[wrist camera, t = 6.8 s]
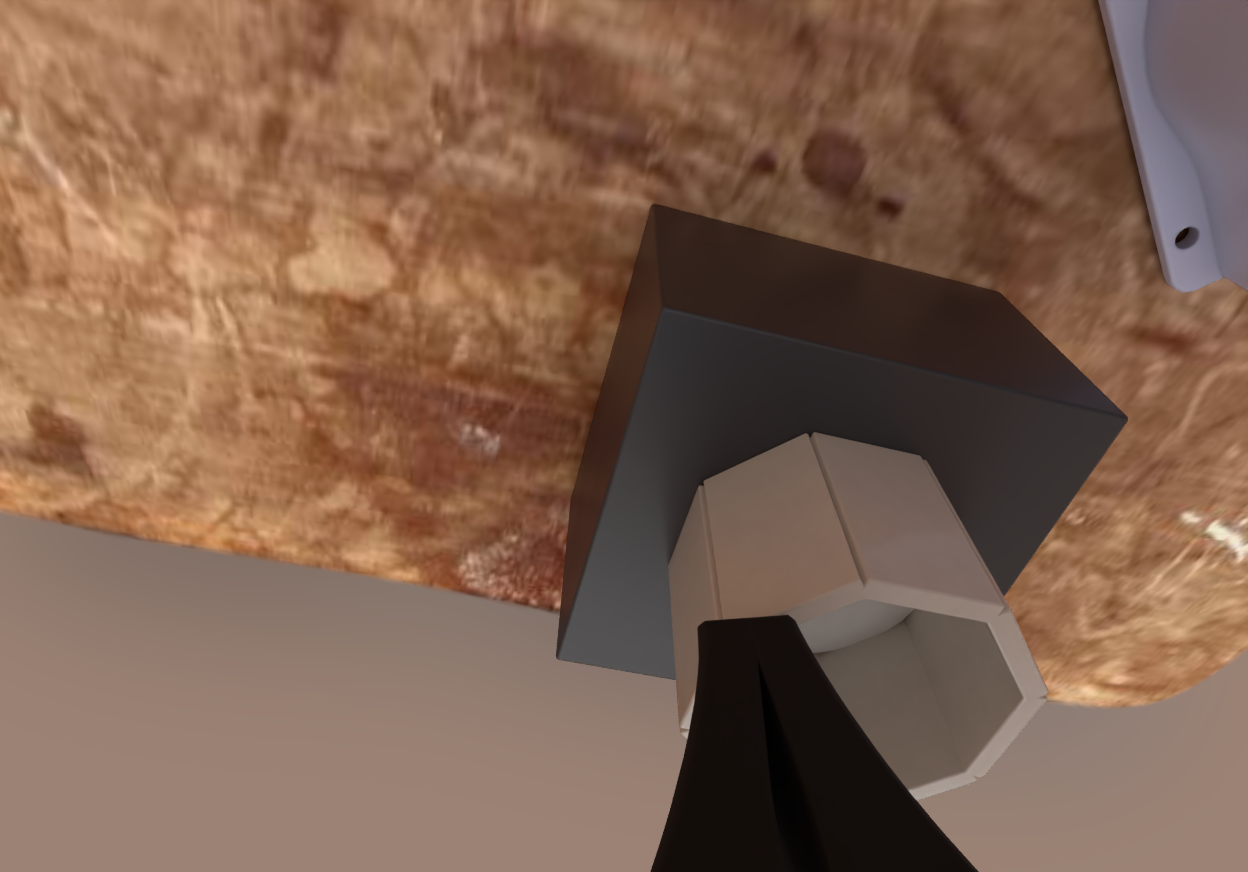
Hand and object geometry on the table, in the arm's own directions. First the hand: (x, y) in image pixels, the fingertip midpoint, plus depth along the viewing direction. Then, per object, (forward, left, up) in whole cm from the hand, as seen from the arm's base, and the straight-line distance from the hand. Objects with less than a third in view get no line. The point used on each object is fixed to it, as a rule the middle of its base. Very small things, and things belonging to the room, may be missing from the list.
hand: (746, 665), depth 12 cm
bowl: (-2, -1, -4) cm, 5 cm away
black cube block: (-2, -1, -10) cm, 11 cm away
